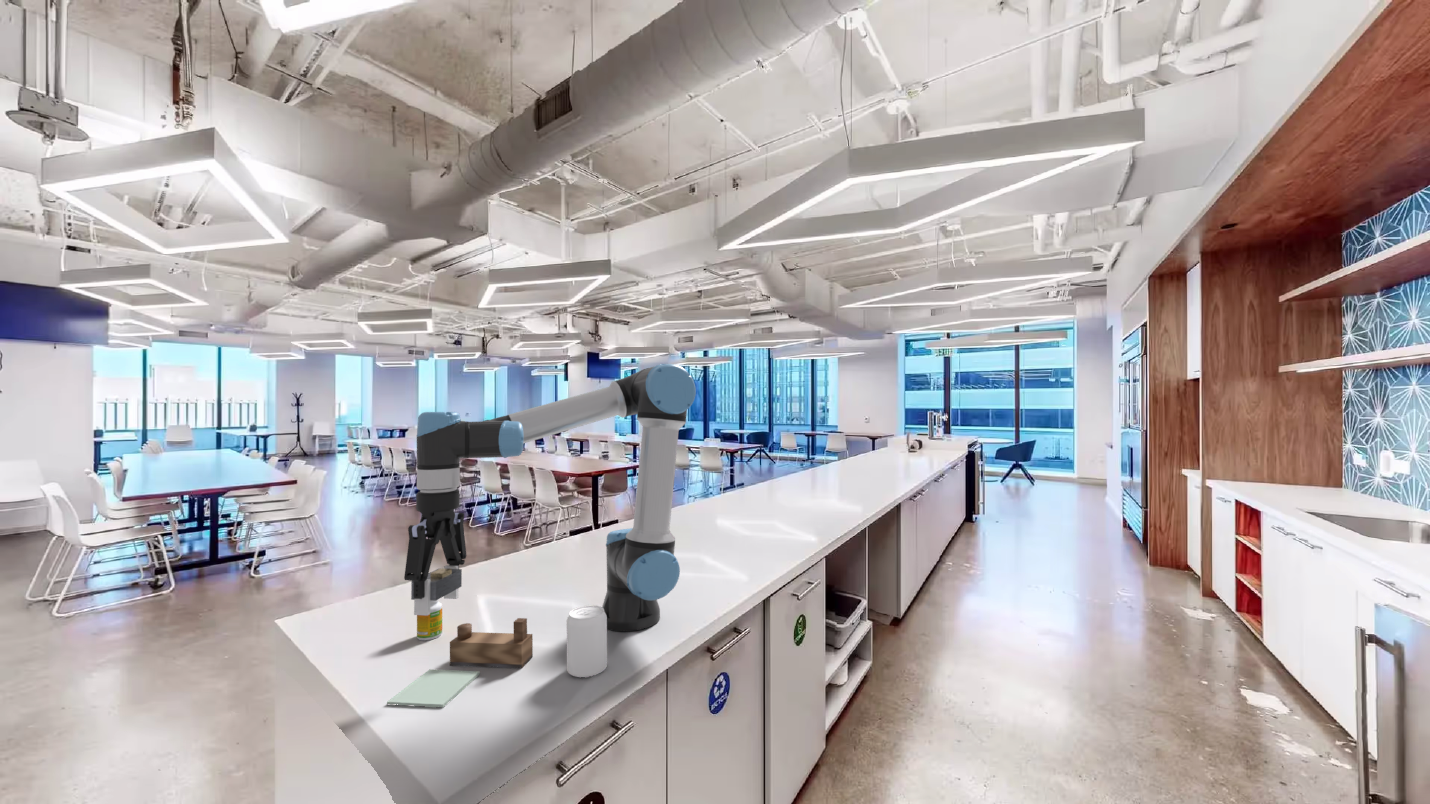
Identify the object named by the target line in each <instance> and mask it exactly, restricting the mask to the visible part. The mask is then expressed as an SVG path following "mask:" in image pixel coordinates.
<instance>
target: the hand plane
mask: <svg viewBox="0 0 1430 804" xmlns="http://www.w3.org/2000/svg"><path fill="white" fill-rule="evenodd" d="M472 627H473V626H472V623H468V622H466V623H462V624H459V625H458V626H457V627H456V629H457V630H456V632H457V634H456V635H457V636H456V637H454V638H453V639H451V640H450V641H449V666H453V667H474V668H475V667H477V668H479V667H480V668H499V669H500V668H502V669H523V668H524V666H525V667H526V665H527V663H529V662H530V661H531V659H532V658H533V657H534V656H533V655H534V650H533V648H534V647H533V645H534V644H533V633H528V618H525V617H517V618H516V619H515V620H513V633H505V632H482V631H481V632H480V631H479V632H478V631H475V632H474V631H473V629H472Z"/></svg>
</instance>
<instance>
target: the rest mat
mask: <svg viewBox="0 0 1430 804" xmlns="http://www.w3.org/2000/svg"><path fill="white" fill-rule="evenodd" d="M479 676H481V672H480V671H479V670H478V671H477V670H457V669H456V670H452V669H431V668H430V669H428V670H427V671H425V672H424V673H422V674H421V675H420V676H419V677H418V678H416V679H415V680H414V681H413V682H412V683H410V684H408V685H407V686H406V687H405V688H403V689H402V690H401V691H399V692H398V693H396V694H395V695H394V696H393V697H391V698H390V699H389V700H388V701H387V702H386V705H387V704H396V705H397V704H398V705H414V706H413V707H415V706H425V707H424V708H436V707H443V708H445V707H446V706H447V705H448V704H449V703H450V702H451V701H452V700H453V699H454V698H456V697H457V696H458V695H459V694H460V693H461V692H462V691H463V690H464V689H465V688H466V686H467V687H468V686H469V685H470V684H471V683H473V681H474V680H475V679H476V678H479ZM456 695H457V696H456ZM451 699H452V700H451ZM449 701H450V702H449ZM448 702H449V703H448ZM447 703H448V704H447ZM446 704H447V705H446ZM445 705H446V706H445ZM444 706H445V707H444Z"/></svg>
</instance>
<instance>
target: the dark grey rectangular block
mask: <svg viewBox="0 0 1430 804" xmlns="http://www.w3.org/2000/svg"><path fill="white" fill-rule="evenodd" d="M427 579H430V600H433V601H436V600H438V599H439V600H440V599H442V598H444V596H445V595H447V594H449V593H451V592H453V591H454V590H456V589H458V590H459V589H460V588H461V587H462V584H463V583H462V579H463V578H462V569H460V568H459V569H444V568H436V569H435V570H433V571H431V572H430V571H429V573H428V577H427ZM410 585H411V589H410V590H411V591H410V592H411V593H410V600H413V601H414V597H413V581H411V584H410Z"/></svg>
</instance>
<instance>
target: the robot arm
mask: <svg viewBox="0 0 1430 804" xmlns="http://www.w3.org/2000/svg"><path fill="white" fill-rule="evenodd" d="M609 384H610V385H608V386H607V387H603V388H600V389H595V390H592V391H589V392H585V393H582V394H578V395H574V396H571V397H567V398H563V399H560V400H556V401H553V402H549V403H546V404H542V405H539V406H535V407H531V408H527V409H524V410H521V411H517V412H514V413H509V414H507V415H503V416H500V417H495V418H492V419H486V420H483V421H482V420H481V421H464V420H462V419H461V415H460V413H459V412H457V411H425V412H421V413H420V414H419V415H418V416H417V429H416V430H417V431H416V489H417V490H418V492H417V493H416V494H415V495H416V497H415V499H416V500H415V501H416V503H415V504H416V506H415V508H416V511H418V512H419V513H420V514H421V517H420V520H419V523H418V524H416V525H415V524H414V525H413V524H410V525H409V526H408V528H407V531H408V543H407V553H406V561H405V568H404V569H405V570H404V578H403V579H404V581H408V582H409V581H413V597H414V600H413V601H414V603H413V606H414V607H413V608H414V609H413V610H414V611H413V615H414V616H417V615H427V616H428V615H429V614H430V579H427V577H428V573H430V569H431V565H432V561H433V558H434V554H435V551H436V546H437V545H438V544H439V543H440V545H441V547H442V551H443V554H444V558H445V562H446V565H445V566H443V569H460V566H463V565H465V562H466V560H465V559H466V558H467V547H466V538H465V525H464V522H465V513H464V512H455V510H457V509H458V508H459V507H460V490H459V489H457V488H459V487H460V485H461V480H460V479H461V475H460V474H461V473H460V472H461V471H460V470H461V469H460V467H461V466H460V462H461V461H460V460H461V459H478V458H479V459H481V458H483V459H486V458H487V459H489V458H490V459H491V458H504V459H506V458H509V457H510V458H512V457H519V456H521V455H522V453H523V450H524V444H527V443H530V442H533V441H537V440H541V439H543V438H546V437H550V436H553V435H557V434H559V433H560V434H561V433H563V432H567V431H571V430H572V429H573V430H574V429H577V428H579V427H584V426H585V425H590V424H592V423H596V422H599V421H603V420H606V419H609V418H612V417H613V418H614V417H616V416H619V417H621V418H627V417H629V416H634V415H637V416H636V419H637V421H638V422H639V423H640V425H641V426H642V429H641V430H642V431H641V441H640V454H639V461H638V473H637V483H636V484H637V485H636V493H635V494H636V495H635V504H634V505H635V506H634V515H633V525H632V526H633V527H631V528H622V529H617V530H612V531H610V532H609V533H608V534H607V535H606V543H605V547H606V593H605V596H604V599H603V603H602V606H601V607H602V608H604V612H605V613H606V616H607V630H610V631H613V632H614V631H615V632H634V631H635V632H636V631H640V630H644V628H645V629H647V628H650V627H652V626H654V625H655V624H657V623H658V622H659V621H660V619H661V608H660V605H659V602H658V600H661V599H662V598H664V597H666V596H667V595H669V593H671V592H672V591H673V590H674V588H675V587H676V586H677V583H678V582H679V579H680V575H681V568H680V563H679V561H678V559H677V557H676V556H675V548H676V547H675V545H676V537H675V536H674V535H673V533H672V532H671V530H670V528H671V519H672V509H673V508H672V507H673V497H674V486H675V485H674V484H675V473H676V463H677V450H678V442H679V431H680V429H681V428H682V427H683V426H685V425H686V422H687V412H688V410H689V409H690V407H691V406H692V405H693V404H694V401H695V399H696V394H697V393H696V390H697V389H696V388H697V387H696V384H695V379H693V377H692V375H691V374H690V373H689V371H687V369H685V368H684V367H682V366H681V365H677V364H674V363H661V364H657V365H656V366H651V367H648V368H644V369H641V370H639V371H637V372H634V373H632V374H630V375H627V376H626V377H624V378H621V379H617V380H614V381H611V382H610V383H609ZM443 599H446V600H448V599H449V600H457V599H459V588H458V589H456V590H454V591H453V592H451V593H449V594H447V595H445V596H443Z"/></svg>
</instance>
